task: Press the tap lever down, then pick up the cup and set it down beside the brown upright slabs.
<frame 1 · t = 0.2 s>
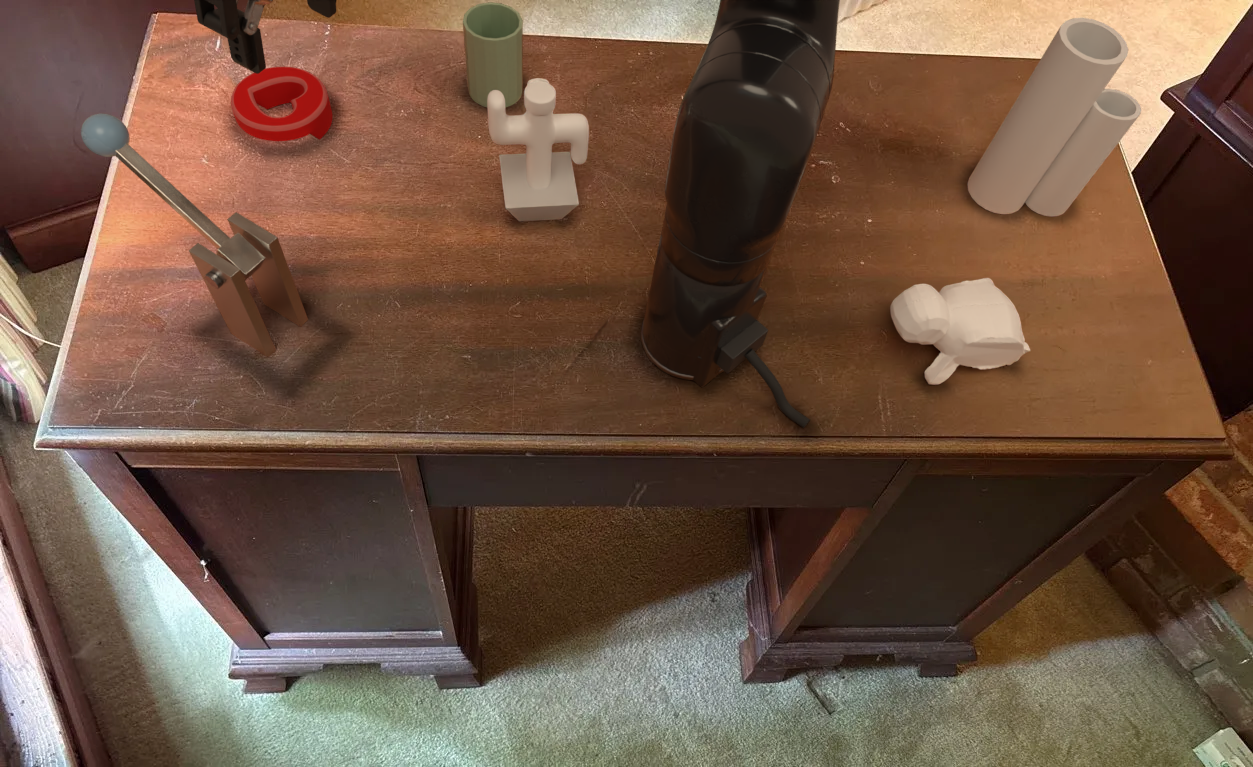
hand: (288, 38, 67), 23 cm above the table, tool pointing down, fingers open, 8 cm apart
decorative ornament: (286, 120, 94), on the table
tap lever: (173, 197, 69), point 14 cm above the table, hinge at 30.0°
vase: (1014, 192, 99), on the table
figurine: (538, 205, 91), on the table
brown upright slabs: (273, 335, 80), on the table
cup: (495, 90, 99), on the table
penguin: (939, 348, 86), on the table
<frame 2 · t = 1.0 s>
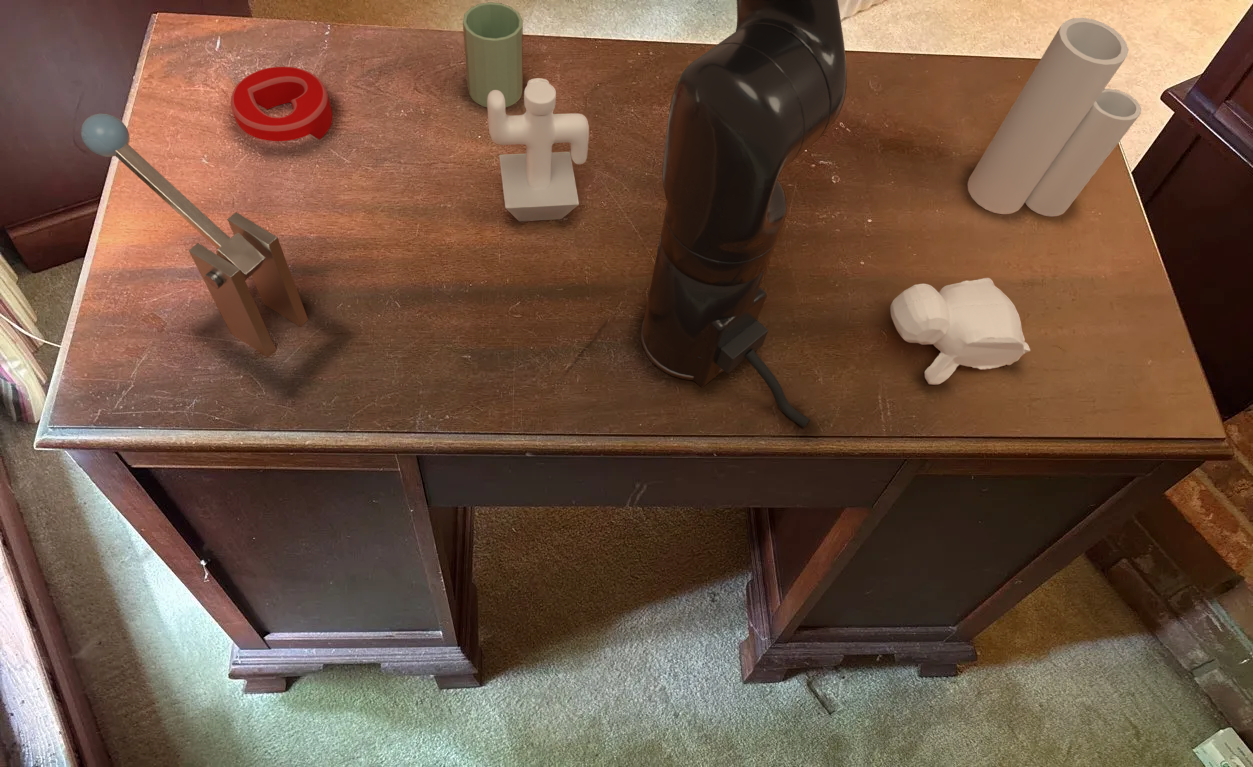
nothing on the table moved.
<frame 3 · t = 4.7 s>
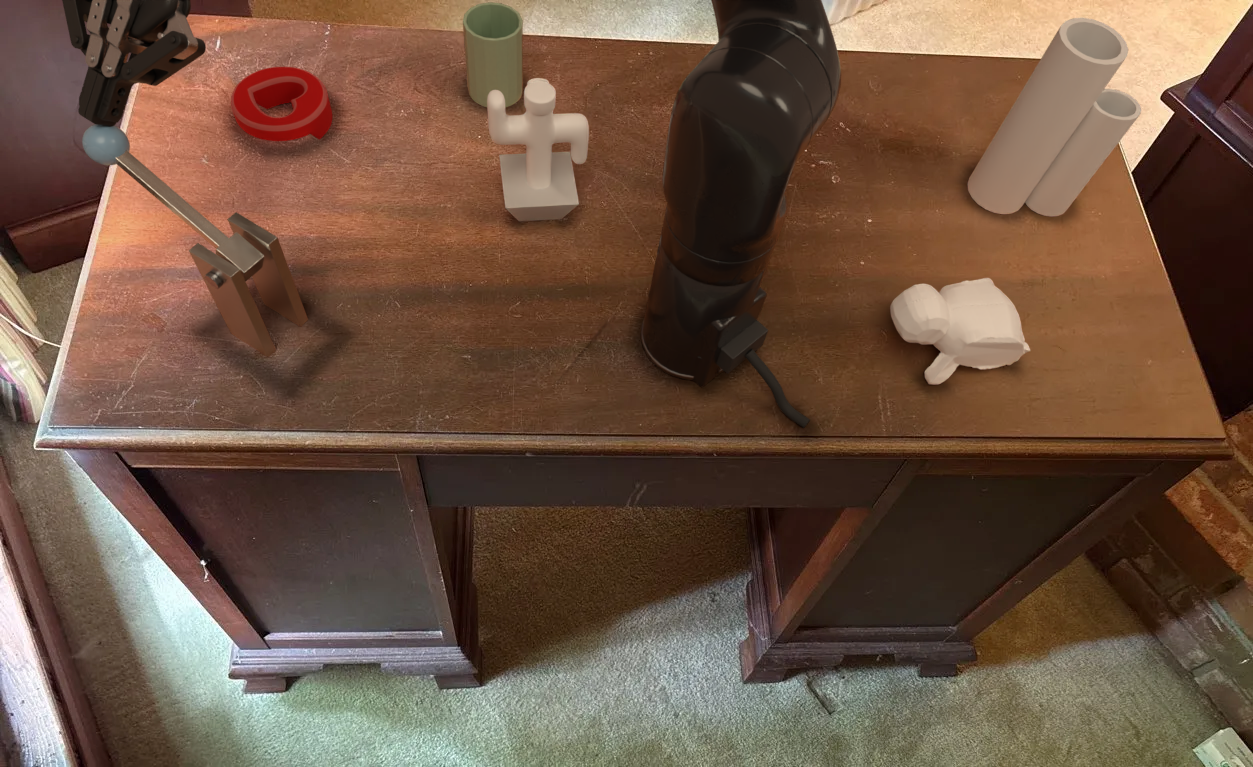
hand: (96, 121, 67), 18 cm above the table, tool tilted 45°, fingers closed
tap lever: (173, 201, 69), point 14 cm above the table, hinge at 23.5°, touching gripper
everything else where it was.
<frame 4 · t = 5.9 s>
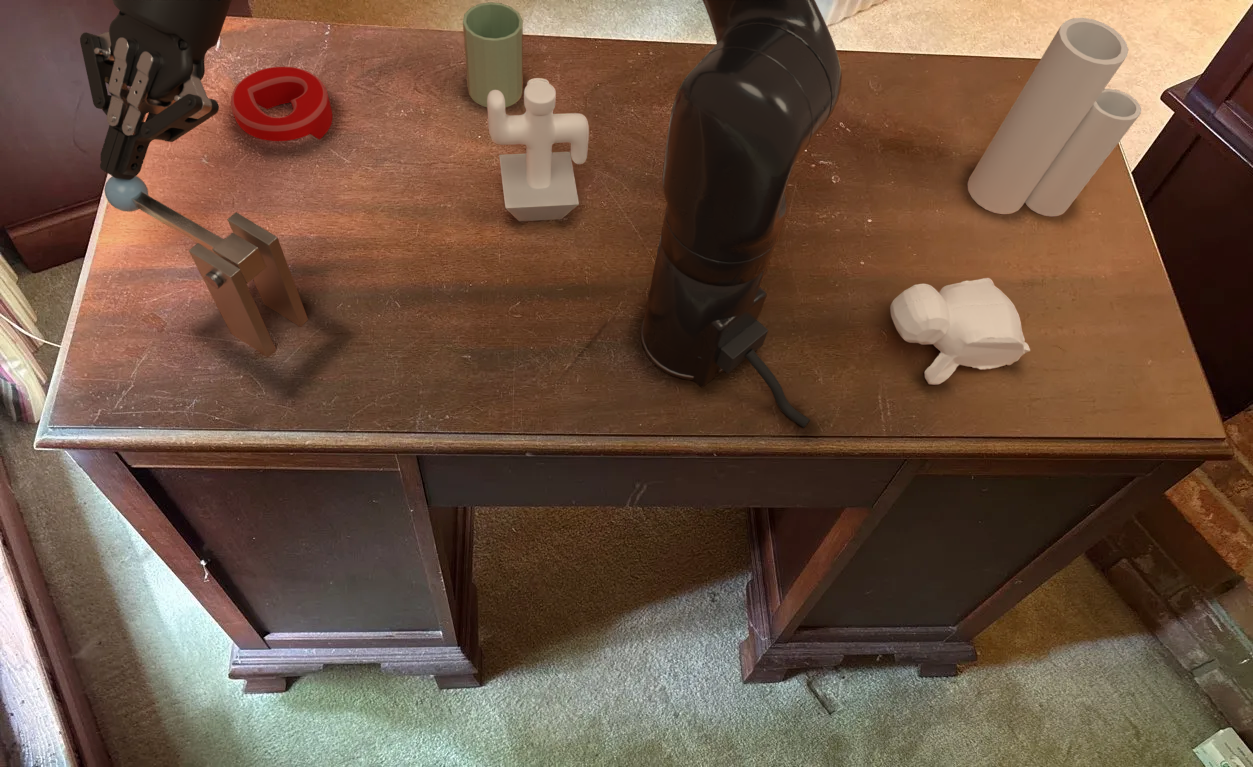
hand: (116, 174, 72), 12 cm above the table, tool tilted 45°, fingers closed
tap lever: (181, 224, 72), point 11 cm above the table, hinge at -3.7°, touching gripper
everything else where it was.
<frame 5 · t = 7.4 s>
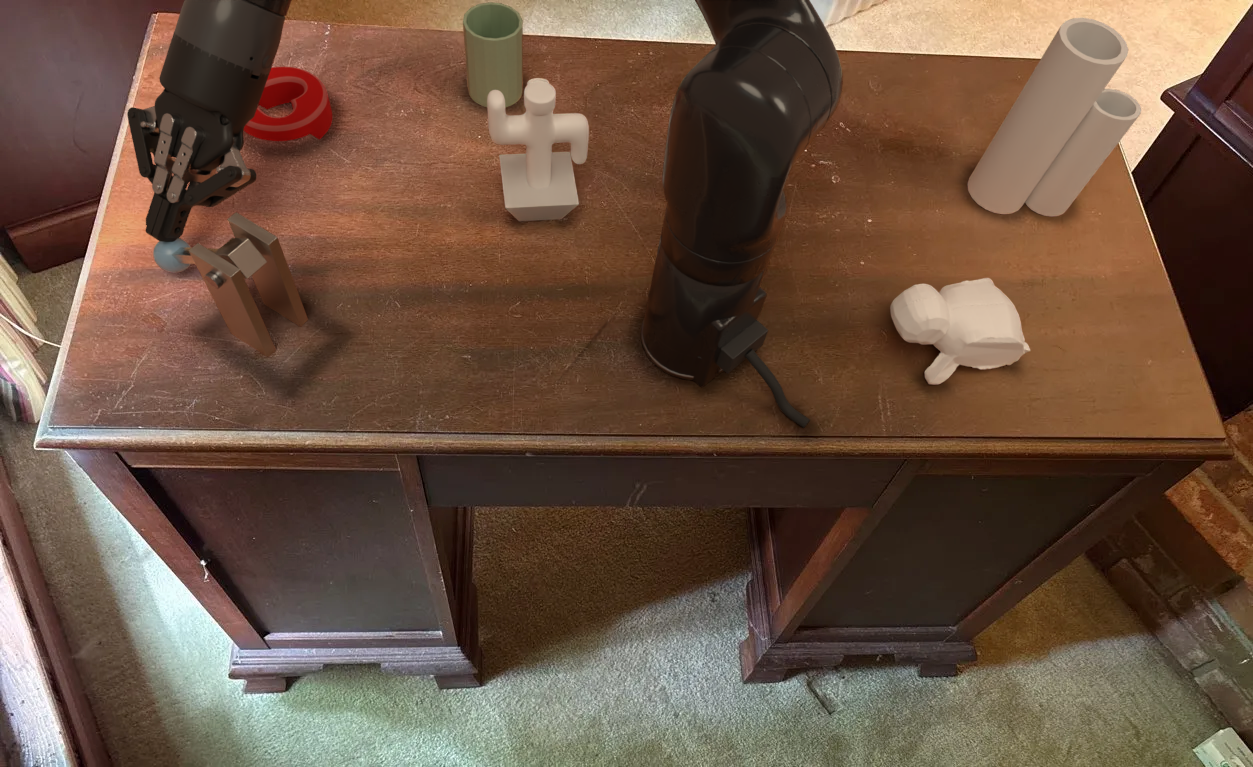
hand: (160, 237, 77), 6 cm above the table, tool tilted 45°, fingers closed
tap lever: (204, 256, 75), point 7 cm above the table, hinge at -34.6°, touching gripper
everything else where it was.
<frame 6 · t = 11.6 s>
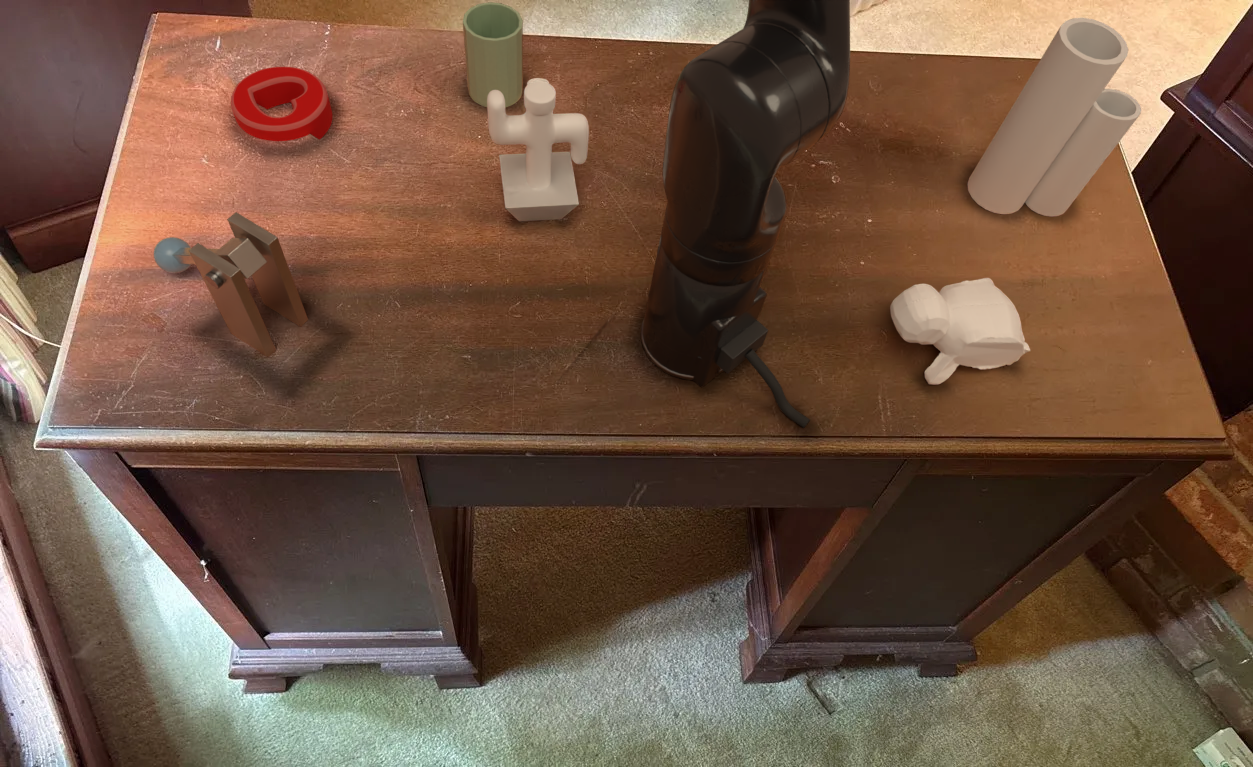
tap lever: (204, 256, 75), point 7 cm above the table, hinge at -34.8°
everything else where it was.
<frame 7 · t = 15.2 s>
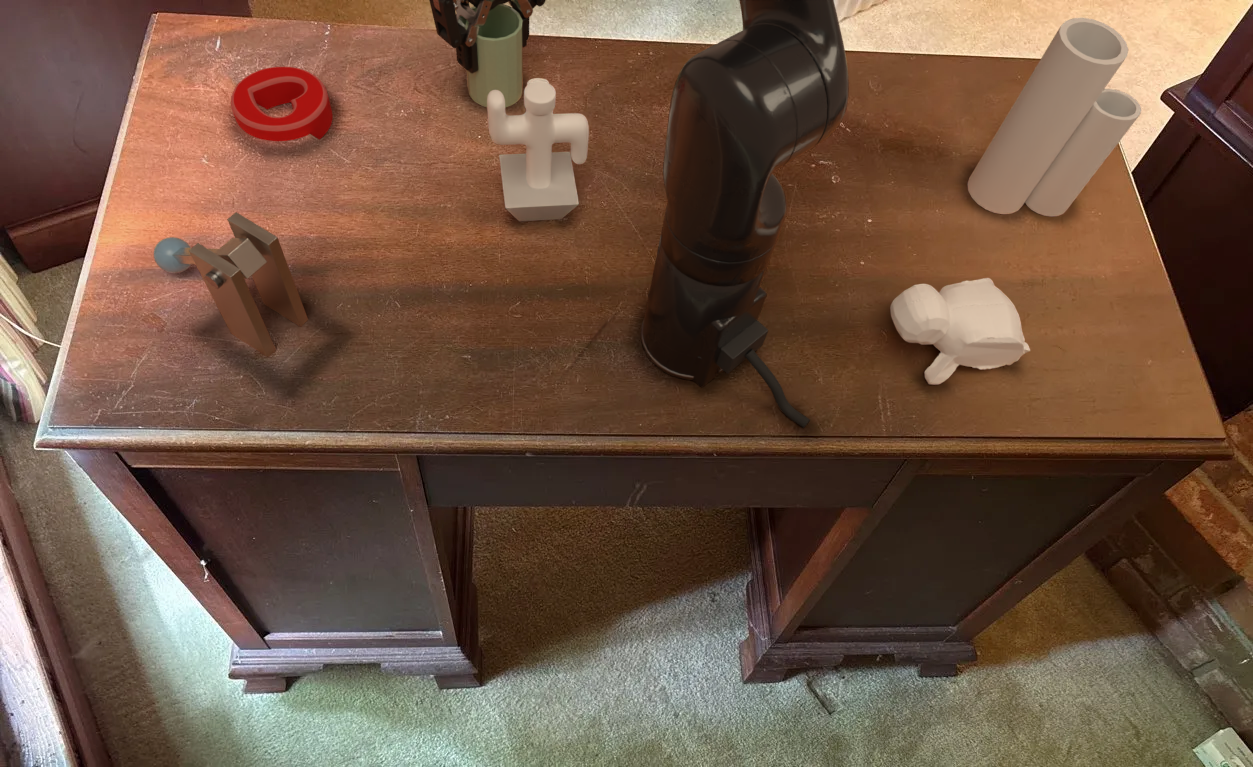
hand: (494, 55, 95), 5 cm above the table, tool pointing down, fingers closed on cup, 6 cm apart
cup: (495, 90, 99), on the table, touching gripper
everything else where it was.
when the fingers open (5 cm above the table, at t = 23.7 s): cup stays where it is, on the table.
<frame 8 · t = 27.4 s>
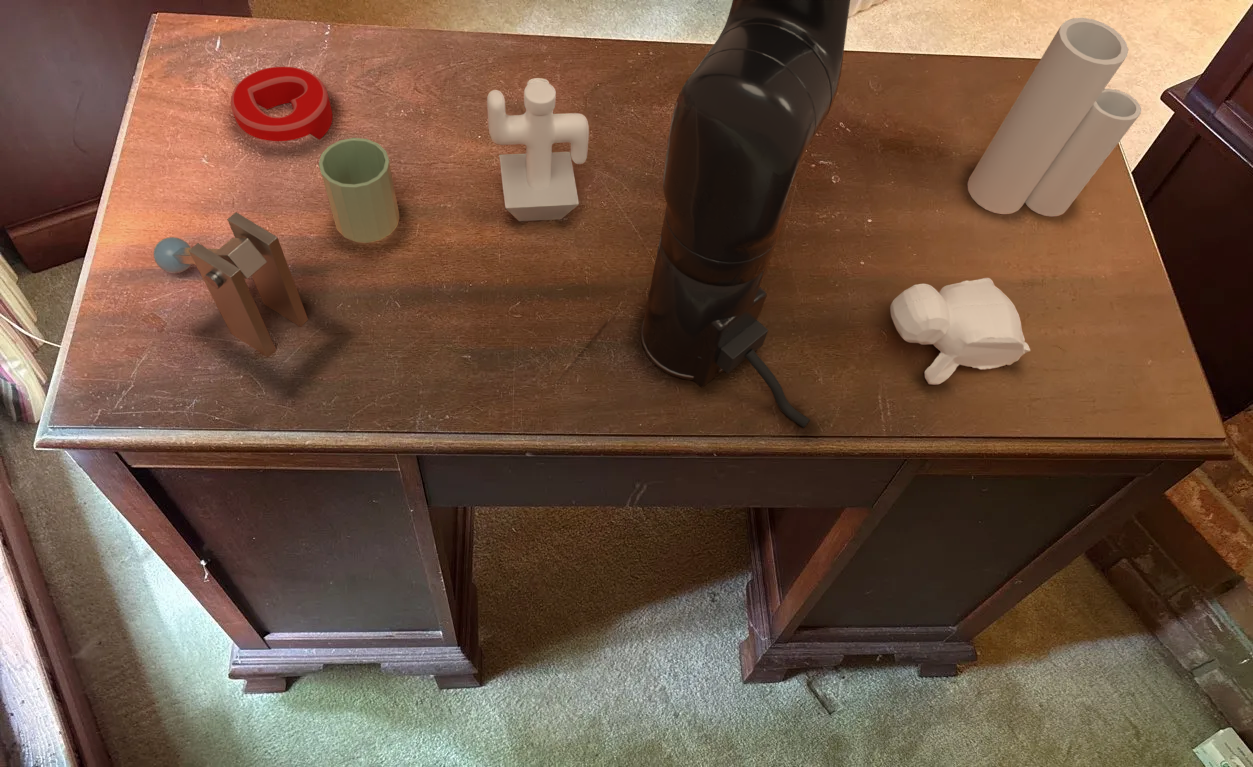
cup: (369, 228, 87), on the table
everything else where it was.
at the end: tap lever at -35° (first picture: +30°); cup 0.1 cm from the target spot, on the table; cup tilted 0° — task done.
